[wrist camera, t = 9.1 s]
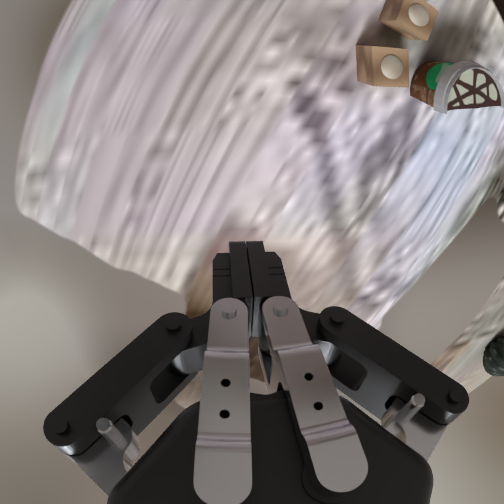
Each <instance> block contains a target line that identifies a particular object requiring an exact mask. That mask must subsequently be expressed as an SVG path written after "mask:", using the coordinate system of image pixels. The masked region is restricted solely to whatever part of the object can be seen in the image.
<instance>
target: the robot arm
mask: <svg viewBox="0 0 504 504" xmlns="http://www.w3.org/2000/svg"><path fill="white" fill-rule="evenodd" d="M251 332H252V337H258V340H259V349H258V352H259V357H260V361H261V366H262V370H263V374H264V379H265V383H266V387H267V395H262V394H255V393H250V382H249V381H250V375H249V351H248V337H250V336H251ZM200 370H203V374H202V386H201V398H200V401H199V402H197V403H195V404H193V405H191V406H189V407H188V408H186V409H185V410H184V411H183V412H182V413H180V414H179V415H178V417H177V418H176V419H175V420H174V421H173V422H172V423H171V425H170V426H169V427H168V428H167V429H166V430H165V431H164V432H163V434H162V435H161V436H160V437H159V438H158V439H157V440H156V441H155V443H154V444H153V445H152V446H151V447H150V448H149V449H148V450H147V451H146V453H145V454H144V455H143V456H142V457H141V458H140V459H139V460H138V462H136V463H135V465H134V466H133V467H132V465H133V461H134V459H135V458H136V456H137V455H138V453H139V450H140V441H139V438H138V437H137V436H138V434H140V433H141V432H142V431H143V429H145V428H146V427H147V426H148V425H149V424H150V422H152V420H153V419H154V418H156V417H157V415H158V414H159V413H160V412H161V411H162V410H163V409H164V408H165V407H166V406H167V405H168V404H169V403H170V402H171V401H172V400H173V399H174V398H175V397H176V396H177V395H178V394H179V393H180V392H181V391H182V390H183V389H184V388H185V387H186V386H187V384H188V383H189V382H190V381H191V380H192V379H193V378H194V377H195V376H196V374H197V373H198V371H200ZM336 388H337V389H339V390H340V391H342V392H343V393H344V394H346V395H347V396H349V397H350V398H351V399H353V400H354V401H355V402H357V403H358V404H359V405H361V406H362V407H363V408H365V409H366V410H368V411H369V412H370V413H372V414H374V415H375V416H376V417H378V418H379V419H380V420H381V425H380V424H378V423H377V422H376V421H374V420H373V419H372V418H370V417H369V416H368V415H366V414H365V413H364V412H363V411H361V410H360V409H359V408H357V407H356V406H355V405H354V404H352V403H351V402H349V401H348V400H347V399H345V398H343V397H342V396H339V395H338V393H337V390H336ZM468 403H469V397H468V393H467V391H466V390H465V388H464V387H463V386H462V385H461V384H459V383H458V382H456V381H455V380H453V379H451V378H450V377H448V376H447V375H445V374H444V373H442V372H441V371H439V370H438V369H436V368H435V367H433V366H432V365H430V364H429V363H427V362H426V361H424V360H423V359H421V358H419V357H418V356H416V355H415V354H413V353H412V352H410V351H408V350H407V349H406V348H404V347H403V346H401V345H400V344H398V343H397V342H395V341H394V340H392V339H390V338H389V337H387V336H386V335H384V334H383V333H381V332H380V331H378V330H377V329H375V328H374V327H372V326H371V325H369V324H368V323H366V322H364V321H363V320H361V319H360V318H358V317H357V316H355V315H354V314H352V313H351V312H349V311H348V310H346V309H344V308H341V307H337V306H332V307H327V308H325V309H324V310H323V311H322V312H321V313H320V314H318V313H313V312H308V311H305V310H302V309H300V308H299V307H298V305H297V304H296V303H295V302H294V301H293V300H292V299H291V295H290V291H289V287H288V284H287V280H286V276H285V272H284V269H283V265H282V261H281V258H280V257H279V256H278V255H277V254H276V253H275V252H265V250H264V245H263V241H246V244H245V241H240V242H229V253H217V255H216V256H215V258H214V259H213V304H212V306H211V308H210V309H209V311H207V312H206V313H205V314H203V315H201V316H198V317H195V318H191V319H190V318H189V317H188V316H186V315H184V314H182V313H177V312H173V313H168V314H165V315H163V316H161V317H160V318H159V319H158V320H156V321H155V322H154V323H153V324H152V325H151V326H149V327H148V328H147V329H146V330H145V331H144V332H143V333H141V334H140V335H139V336H138V337H137V338H136V339H134V340H133V341H132V342H131V343H130V344H129V345H127V346H126V347H125V348H124V349H123V350H122V351H121V352H119V353H118V354H117V355H116V356H115V357H113V358H112V359H111V360H110V361H109V362H108V363H107V364H105V365H104V366H103V367H102V368H101V369H100V370H99V371H97V372H96V373H95V374H94V375H93V376H92V377H90V378H89V379H88V380H87V381H86V382H85V383H84V384H82V385H81V386H80V387H79V388H78V389H77V390H76V391H74V392H73V393H72V394H71V395H70V396H69V397H68V398H66V399H65V400H64V401H63V402H62V403H61V404H60V405H58V406H57V407H56V408H55V409H54V410H53V411H52V412H50V413H49V414H48V416H47V417H46V419H45V421H44V426H43V430H44V434H45V436H46V438H47V439H48V441H49V442H50V443H52V444H53V445H54V446H55V447H57V448H58V449H59V451H60V452H62V453H63V454H64V455H65V456H67V457H68V458H70V459H71V460H72V461H74V462H75V463H77V464H78V466H79V467H80V468H81V469H82V470H83V471H84V472H85V473H86V474H87V475H88V476H89V477H90V478H91V479H92V480H93V481H94V482H95V483H96V484H97V485H98V486H99V487H100V488H101V489H102V490H103V491H104V492H105V493H106V494H107V495H108V496H109V497H108V501H107V504H429V503H430V497H431V493H432V488H433V474H432V470H431V468H430V466H429V464H428V462H427V460H428V458H429V457H430V455H431V454H432V452H433V450H434V448H435V447H436V445H437V443H438V442H439V440H440V438H441V436H442V434H443V432H444V430H445V429H446V427H447V426H448V425H449V424H450V423H451V422H453V421H454V420H455V419H456V418H457V417H458V416H459V415H460V414H461V413H463V412H464V411H465V410H466V408H467V406H468Z"/></svg>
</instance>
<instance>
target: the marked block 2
mask: <svg viewBox="0 0 504 504" xmlns="http://www.w3.org/2000/svg"><path fill="white" fill-rule="evenodd" d="M356 59H357V79H358V81H360V82H363V83H366V84H369V85H372V86H389V87H409V57H408V49H401V48H392V47H381V46H365V45H356Z"/></svg>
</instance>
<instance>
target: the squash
mask: <svg viewBox="0 0 504 504" xmlns="http://www.w3.org/2000/svg"><path fill="white" fill-rule="evenodd" d="M483 366H484V368H485V370H486V372H487V373H489V374H490V375H493V376H504V337H498V338H497V339H496V340H495V341H493V342H491V344H490V347H487V348H486V349H485V351H484V356H483Z"/></svg>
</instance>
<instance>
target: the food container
mask: <svg viewBox="0 0 504 504" xmlns="http://www.w3.org/2000/svg"><path fill="white" fill-rule="evenodd" d="M410 96H412V97H414V98H416V99H418V100H420V101H422V102H424V103H426V104H428V105H430V106H432V107H434V110H435V111H438V112H441V113H446V114H447V111H449V110H453V109H467V108H481V107H489V106H501V107H503V108H504V92H503V89H502V87H501V85H500V83H499V81H498V80H497V78H496V77H495V76H494V75H493V74H492V73H491V72H490V71H489V70H488V69H486V68H484V67H483V66H481V65H479V64H477V63H475V62H472V61H459V62H456V63H446V62H436V61H430V62H426V63H424V64H422V65H421V66H420V67H419V68H418V69H417V70H416V71H415V73H414V75H413V78H412V81H411V86H410Z"/></svg>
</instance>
